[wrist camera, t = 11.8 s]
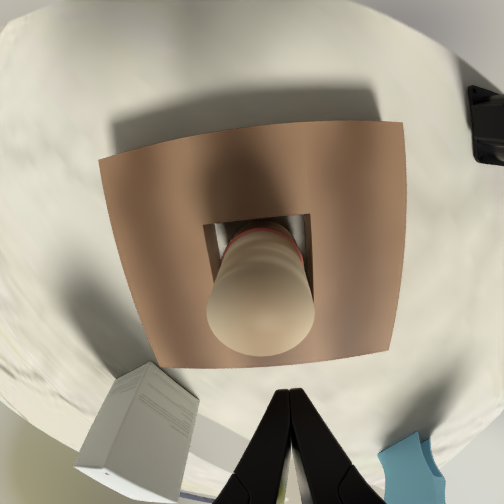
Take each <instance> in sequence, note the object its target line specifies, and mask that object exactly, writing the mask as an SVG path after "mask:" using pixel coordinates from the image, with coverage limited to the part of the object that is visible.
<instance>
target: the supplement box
mask: <svg viewBox="0 0 504 504" xmlns="http://www.w3.org/2000/svg"><path fill="white" fill-rule="evenodd" d="M199 402H200V401H199V400H198V399H197V398H195V397H194V396H193V395H191V394H190V393H189V392H187V391H186V390H185V389H183V388H182V387H181V386H180V385H178V384H177V383H176V382H175V381H173V380H172V379H171V378H170V377H169V376H167V375H166V374H165V373H164V372H163V371H162V370H160V369H159V368H158V367H157V366H156V365H155V364H154V363H152V362H151V361H150V362H148V363H146V364H144V365H142V366H140V367H139V368H137V369H135V370H133V371H131V372H129V373H127V374H125V375H123V376H121V377H119V378H118V379H116V380H115V381H114V383H113V385H112V387H111V389H110V391H109V393H108V395H107V397H106V399H105V400H104V402H103V404H102V406H101V408H100V410H99V412H98V414H97V416H96V418H95V420H94V422H93V424H92V426H91V428H90V430H89V432H88V434H87V437H86V439H85V441H84V443H83V445H82V447H81V449H80V452H79V454H78V456H77V458H76V461H75V463H74V467H75V468H76V469H78V470H80V471H81V472H83V473H85V474H86V475H88V476H90V477H91V478H93V479H95V480H97V481H98V482H100V483H102V484H104V485H105V486H107V487H109V488H111V489H113V490H115V491H117V492H119V493H121V494H123V495H125V496H127V497H129V498H131V499H134V500H141V501H148V502H161V503H162V502H163V503H178V501H179V495H180V489H181V485H182V480H183V475H184V470H185V466H186V461H187V457H188V452H189V448H190V443H191V438H192V434H193V430H194V425H195V420H196V416H197V411H198V407H199Z"/></svg>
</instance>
